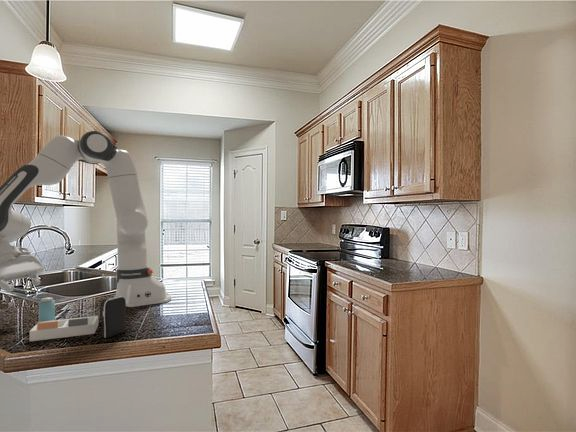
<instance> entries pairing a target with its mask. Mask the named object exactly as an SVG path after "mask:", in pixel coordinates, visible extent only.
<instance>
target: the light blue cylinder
mask: <svg viewBox="0 0 576 432" xmlns="http://www.w3.org/2000/svg"><path fill="white" fill-rule="evenodd" d="M54 320H56V300H55V299H54V298H53V297H52V296H51V297H50V296H49V297H43V298H42V297H41V298H40V301H38V322H44V321H54Z"/></svg>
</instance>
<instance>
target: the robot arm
mask: <svg viewBox="0 0 576 432" xmlns="http://www.w3.org/2000/svg"><path fill="white" fill-rule="evenodd" d="M77 161H78V162H82V163H85V164H89V165H98V164H102V165H103V167H104V168H105V170H106V174H107V180H108V184H109V188H110V189H109V190H110V194H111V199H112V205H113V207H114V212H115V217H116V238H117V243H116V244H117V245H116V247H117V269H116V273H115V275H116V276H115V278H116V279H115V280H116V284H117V285H116V290H115V296H118V297H124V298H125V301H126V308H134V307H135V308H136V307H143V306H148V305H149V306H150V305H156V304H163V303H168V302H170V301H171V300H172V296H171V294H170V293H168V292H167V291H166V286H165V285H164V283H163V282H161V281H160V280H159V279H157V278H155V277H154V276H152V274H153V273H154V271H153V269H152V268H150V267H147V242H146V241H147V240H146V230H147V228H148V225H149V224H148V223H149V220H148V216H147V212H146V208H145V204H144V199H143V197H142V192H141V188H140V182H139V178H138V174H137V173H138V171H137V169H136V165H135V162H134V160H133V158H132V155H131V153H130V152H128V151H127V150H124V149H117V146H116V145H115V144H114V143H113V141H112V140H111V139H110V137H109V136H108V135H107V134H105V133H103V132H102V131H100V130H89V131H87V132H84V134H83V135H82V136H81V138H80V139H73V138H71V137H70V136H67V135H63V134H60V135H56V136H54V137H52V138H51V139H50V140H49V141H48V142H47V143H46V144H44V146H43V148H41V150H39V152H38V154H37V155H36V156H35V157H34V158H33V159H32V160H31V161H30V162H29V163H27V164H24V165H22V166H20V167H19V168H18V169H16V171H14V172H13V173H12V174H11V175H10V176H9V177H8V178H7V179H6V180H5V182H3V183H2V184H1V186H0V288H2V289H4V291H6V293H8V292H13V291H14V290H15V286H14V285H13V284H12V283H8V282H11V281H17V280H21V279H22V280H23V279H26V278H30V279H32V281H31V284H32V285H33V286H34V287H36V286H39V285H40V284H41V280H40V279H39V276H40V275H41V273H43V272H44V270H45V266H44V264H43V263H42V261H40V259H39V258H38V257H37V256H35V255H34V254H32V250H31V249H30V248H27V247H22V246H20V247H19V246H17V245H16V246H15V245H12V244H11V243H13V242H15V241H17V240H19V239H20V238H22V237H24V236H26V235H27V234H28V232H29V231H30V229H31V226H32V223H31V219H30V217H29V216H28V215H26V214H24V213H22V212H21V211H20V212H19V211H17V210H16V209H12V207H13V205H15V204H16V202H17V201H18V200H19V199H20V198H21V197H22V196H23V195H24V194H25V192H26V191H27V190H29V189H30V188H32V187H34V186H53V185H57V184H59V183H60V182H62V181H63V180H64V179H65V177H67V175H68V174H69V172H70V171H71V169H72V167H73V166H74V165H75V163H76V162H77Z"/></svg>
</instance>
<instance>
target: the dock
mask: <svg viewBox="0 0 576 432" xmlns="http://www.w3.org/2000/svg"><path fill="white" fill-rule="evenodd" d="M98 327H99V315H94V316H93V315H92V316H86V317H85V316H84V317H76V318H75V317H74V318H66V319H55V320H54V321H44V322H39V321H38V322H37V323H36V324H35V325H34V326H33V327H32V328H31V329H30V330H29V342H35V341H36V342H37V341H45V340H51V339H53V340H54V339H55V340H56V339H61V338H71V337H78V336H79V337H80V336H86V335H94V334H95V333H96V331H97V329H98Z"/></svg>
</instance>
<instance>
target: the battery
mask: <svg viewBox="0 0 576 432" xmlns="http://www.w3.org/2000/svg"><path fill="white" fill-rule="evenodd" d="M126 309H127V307H126V301H125V298H124V297H118V296H116V295H115V296H112V297H111V296H110V297H107V298H104V299H102V300H101V301H100V304H99V317H100V318H102V326H103V327H102V328H103V329H102V333H101V336H102V338H105V339H108V338H111V337H115V336H118V335H120V334H123V333H126V319H127V318H126V313H127V311H126Z"/></svg>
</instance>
